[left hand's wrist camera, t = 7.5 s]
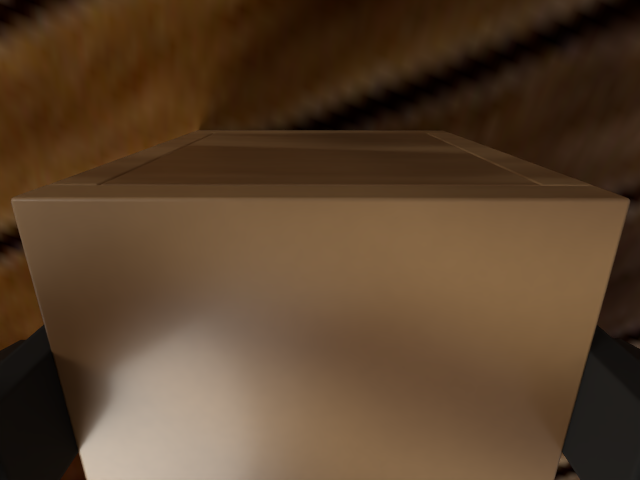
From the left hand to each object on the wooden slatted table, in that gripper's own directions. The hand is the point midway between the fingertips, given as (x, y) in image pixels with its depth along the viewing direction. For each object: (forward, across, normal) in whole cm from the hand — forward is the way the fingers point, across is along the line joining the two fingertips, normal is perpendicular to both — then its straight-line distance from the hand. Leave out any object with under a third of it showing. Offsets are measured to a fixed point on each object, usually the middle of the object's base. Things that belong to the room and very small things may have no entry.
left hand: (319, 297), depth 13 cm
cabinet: (+7, 0, -5) cm, 9 cm away
